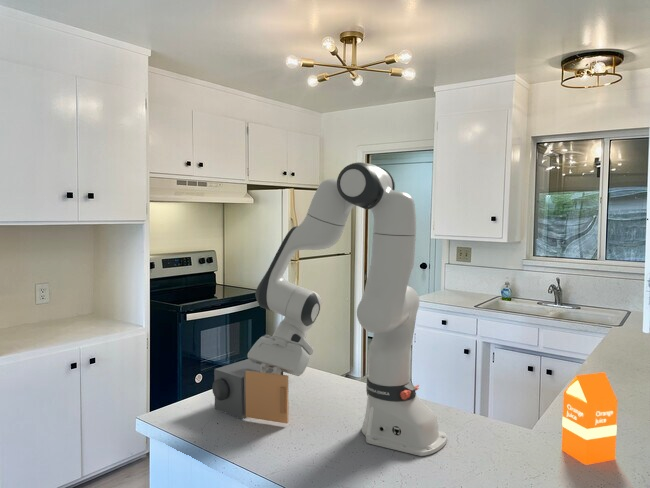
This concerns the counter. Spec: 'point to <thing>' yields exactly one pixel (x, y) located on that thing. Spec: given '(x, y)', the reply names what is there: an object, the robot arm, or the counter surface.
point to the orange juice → (589, 419)
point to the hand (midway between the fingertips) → (263, 381)
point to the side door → (266, 396)
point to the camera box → (232, 386)
